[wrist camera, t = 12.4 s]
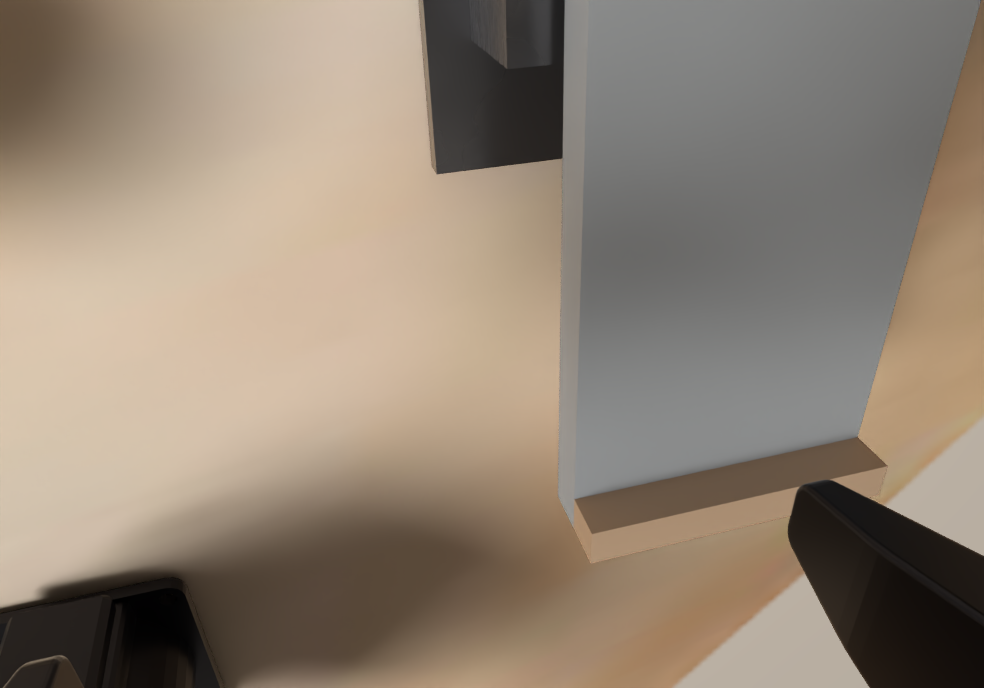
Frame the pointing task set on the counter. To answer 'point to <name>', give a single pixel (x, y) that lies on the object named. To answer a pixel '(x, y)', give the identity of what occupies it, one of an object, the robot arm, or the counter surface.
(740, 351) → the beam
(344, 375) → the counter surface
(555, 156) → the pivot stand
